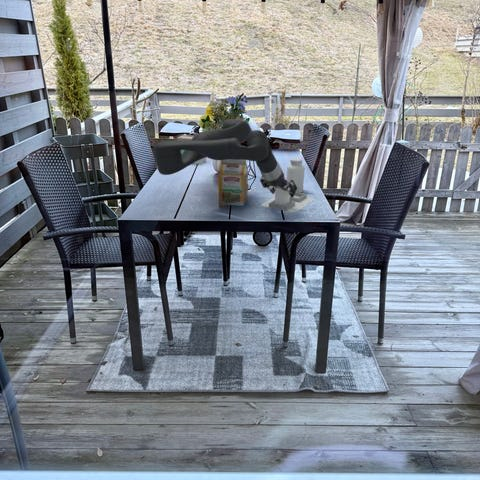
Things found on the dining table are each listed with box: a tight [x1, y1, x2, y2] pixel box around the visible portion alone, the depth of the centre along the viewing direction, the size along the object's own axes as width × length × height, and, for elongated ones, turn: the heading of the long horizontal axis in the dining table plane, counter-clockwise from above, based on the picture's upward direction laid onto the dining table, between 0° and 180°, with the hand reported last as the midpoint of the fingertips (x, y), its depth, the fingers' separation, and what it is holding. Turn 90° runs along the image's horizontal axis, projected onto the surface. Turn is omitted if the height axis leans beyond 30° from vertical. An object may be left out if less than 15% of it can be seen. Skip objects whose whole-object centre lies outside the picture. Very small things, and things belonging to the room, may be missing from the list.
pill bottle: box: [286, 157, 305, 193], centre depth 193 cm, size 8×8×15 cm
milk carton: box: [217, 159, 249, 208], centre depth 175 cm, size 11×11×19 cm
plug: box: [274, 186, 290, 206], centre depth 171 cm, size 4×5×10 cm
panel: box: [259, 192, 316, 213], centre depth 177 cm, size 21×16×3 cm
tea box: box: [175, 134, 207, 165], centre depth 245 cm, size 15×10×15 cm, turn 73°
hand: (283, 193), depth 171 cm, fingers open, 8 cm apart
